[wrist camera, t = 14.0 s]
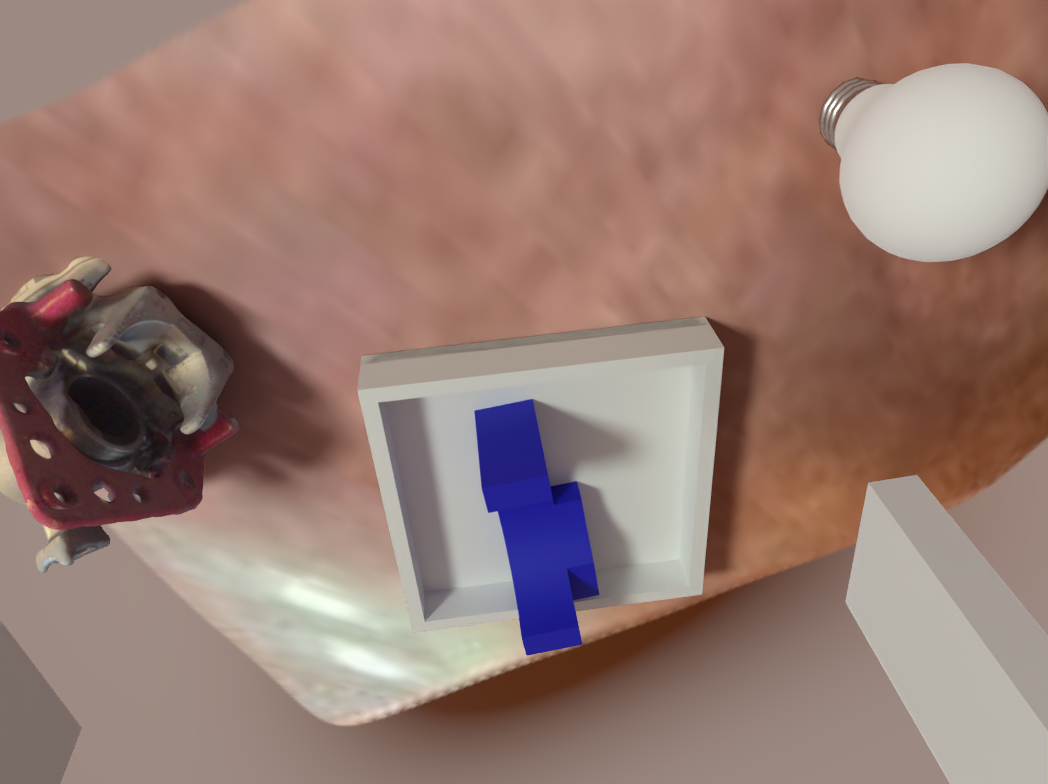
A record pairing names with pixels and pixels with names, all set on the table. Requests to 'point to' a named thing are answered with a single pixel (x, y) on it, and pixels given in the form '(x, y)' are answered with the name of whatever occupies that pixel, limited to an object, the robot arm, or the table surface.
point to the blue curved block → (535, 526)
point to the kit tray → (549, 460)
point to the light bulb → (939, 158)
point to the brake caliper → (104, 407)
